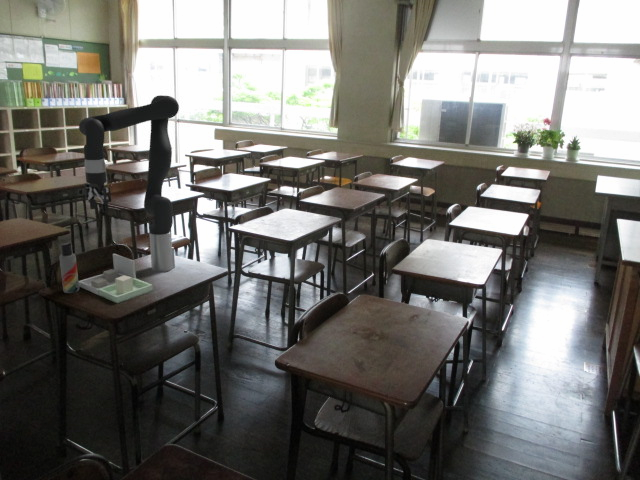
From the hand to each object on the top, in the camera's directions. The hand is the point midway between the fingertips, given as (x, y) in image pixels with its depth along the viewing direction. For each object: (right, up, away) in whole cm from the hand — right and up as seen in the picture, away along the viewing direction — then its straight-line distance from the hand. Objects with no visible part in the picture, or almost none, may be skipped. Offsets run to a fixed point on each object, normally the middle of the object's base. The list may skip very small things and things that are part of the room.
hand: (99, 210), depth 205 cm
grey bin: (+1, -30, +4) cm, 31 cm away
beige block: (+12, -32, -5) cm, 35 cm away
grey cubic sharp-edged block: (+1, -29, +8) cm, 30 cm away
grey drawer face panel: (+6, -28, +11) cm, 31 cm away
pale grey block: (+1, -32, -2) cm, 32 cm away
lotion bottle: (-10, -32, -3) cm, 34 cm away
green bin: (+12, -33, -4) cm, 35 cm away
